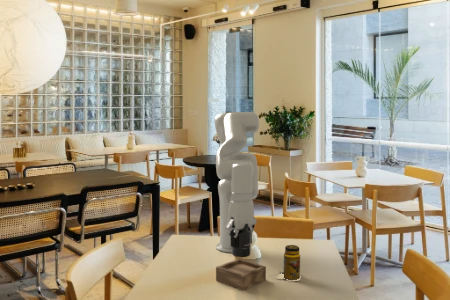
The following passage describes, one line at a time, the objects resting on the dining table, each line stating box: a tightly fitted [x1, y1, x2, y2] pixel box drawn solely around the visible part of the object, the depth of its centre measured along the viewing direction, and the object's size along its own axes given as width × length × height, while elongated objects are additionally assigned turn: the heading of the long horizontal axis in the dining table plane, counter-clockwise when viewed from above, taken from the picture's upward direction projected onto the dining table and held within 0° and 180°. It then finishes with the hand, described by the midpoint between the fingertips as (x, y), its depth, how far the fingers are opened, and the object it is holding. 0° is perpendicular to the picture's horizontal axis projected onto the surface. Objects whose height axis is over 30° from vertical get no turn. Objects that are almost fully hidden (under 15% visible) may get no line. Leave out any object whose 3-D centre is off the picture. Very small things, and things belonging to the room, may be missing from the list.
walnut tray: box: [215, 257, 267, 291], centre depth 181 cm, size 13×13×5 cm
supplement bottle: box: [231, 224, 252, 258], centre depth 179 cm, size 7×7×12 cm
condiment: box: [278, 244, 303, 280], centre depth 184 cm, size 7×8×12 cm
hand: (241, 244), depth 180 cm, fingers closed on supplement bottle, 6 cm apart
